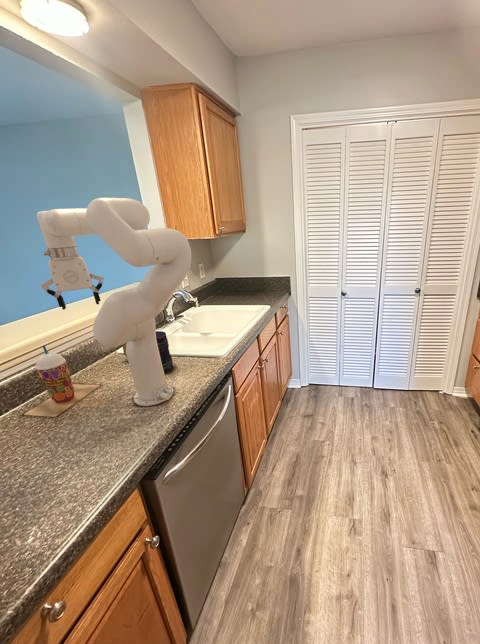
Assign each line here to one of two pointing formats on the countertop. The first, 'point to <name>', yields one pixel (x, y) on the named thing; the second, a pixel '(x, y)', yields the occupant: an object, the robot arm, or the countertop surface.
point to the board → (54, 409)
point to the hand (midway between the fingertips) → (81, 306)
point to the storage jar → (164, 351)
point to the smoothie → (55, 376)
